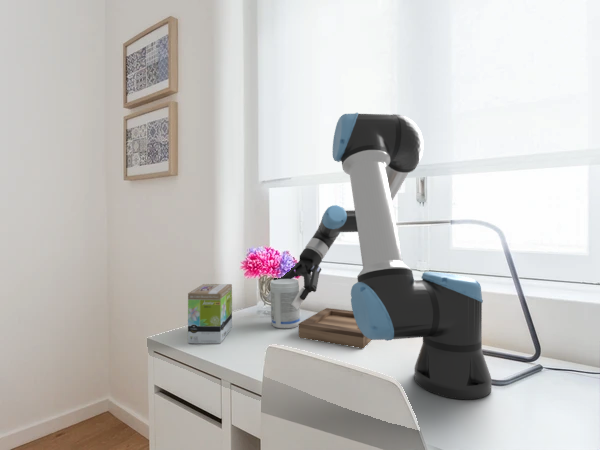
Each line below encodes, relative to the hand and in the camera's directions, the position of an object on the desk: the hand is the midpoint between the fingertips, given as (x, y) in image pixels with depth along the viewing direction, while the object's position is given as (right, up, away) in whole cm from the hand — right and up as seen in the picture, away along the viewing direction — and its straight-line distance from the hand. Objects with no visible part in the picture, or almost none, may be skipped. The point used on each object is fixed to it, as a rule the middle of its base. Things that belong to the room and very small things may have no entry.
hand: (280, 303), depth 118 cm
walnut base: (+20, -7, -8) cm, 22 cm away
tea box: (-21, -8, -8) cm, 24 cm away
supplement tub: (+2, -8, +1) cm, 8 cm away
